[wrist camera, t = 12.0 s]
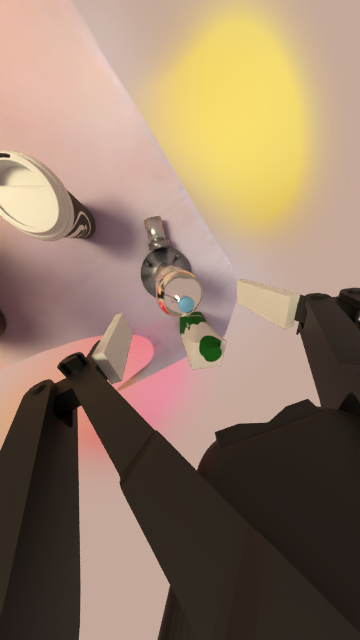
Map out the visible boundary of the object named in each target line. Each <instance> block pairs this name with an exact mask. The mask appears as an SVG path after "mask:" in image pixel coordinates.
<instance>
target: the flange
mask: <svg viewBox="0 0 360 640" xmlns="http://www.w3.org/2000/svg"><path fill="white" fill-rule="evenodd" d="M144 224H145V227H146V231H147V234H148V238H149V241H150V243H149V244H148V247H149V250H150V251H151V250H154V251H152V252H151V253H150V254H149V255H148V256H147V257H146V258H145V260H144V262H143V264H142V268H141V278H142V282H143V285H144V287H145V288H146V290H147V291H148V292H149V293H150V294H151V295H153V296H154V297H156V288H155V271H156V269H157V268H158V267H159V266H160V265H161V264H164V263H170V264H173V265H175V266H177V267H179V268H181V269H183V270H185V271H188V272H190V273H191V269H190V265H189V263H188V261H187V259H186V258H185V257H184V256H183V254H181V253H180V252H179V251H177V250H175V249H172V248H163V247H167V246H170V243H169V239H166V238H165V234H164V229H163V225H162V221H161V217H160V216H155V217H151V218H148V219H146V220H144ZM155 249H156V250H155Z"/></svg>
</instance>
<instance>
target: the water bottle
mask: <svg viewBox="0 0 360 640" xmlns="http://www.w3.org/2000/svg"><path fill="white" fill-rule="evenodd" d="M155 288H156V300H157V303H158V305H159V307H160V308H161V309H162V311H163V312H165V313H166V314H168V315H170V316H173V317H184V316H187V315H190V314H191V313H193V312H194V311H195V310H196V309H197V308H198V307H199V305H200V303H201V300H202V295H203V291H202V286H201V283H200V281H199V280H198V279H197V277H196V276H195V275H193V274H192V273H190V272H188V271H185V270H183V269H181V268H179V267H177V266H175V265H173V264H170V263H164V264H161V265H160V266H159V267H158V268H157V269H156V271H155Z"/></svg>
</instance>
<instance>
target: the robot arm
mask: <svg viewBox="0 0 360 640" xmlns="http://www.w3.org/2000/svg"><path fill="white" fill-rule="evenodd" d="M237 303H239V304H240V305H242V306H244V307H245V308H247V309H249V310H251V311H253V312H255V313H256V314H258V315H260V316H262V317H263V318H265V319H267V320H269V321H271V322H272V323H274V324H276V325H277V326H279V327H281V328H283V329H288V328H291V327H293V325H294V320H296V321H299V325H298V329H297V335H298V333H300V334H301V338H302V341H303V345H304V348H305V351H306V355H307V358H308V362H309V365H310V368H311V372H312V375H313V379H314V382H315V386H316V389H317V392H318V395H319V399H320V403H321V407H316V406H315V405H314V404H313V403H312V402H311V401H310V400H308V399H306V400H303V401H300V402H298V403H295V404H292V405H289V406H287V407H285V408H284V409H283V410H282V411H281V412H279V413H278V414H277V415H276V416H275V417H274V418H273V419H272V420H271V421H270V422H267V423H249V424H237V425H234V426H231V427H228V428H225V429H223V430H220V431H217V432H215V435H216V441H215V442H214V443H213V444H212V445H211V446H210V447H209V448H208V449H207V451H206V452H205V454H204V455H203V457H202V459H201V461H200V463H199V466H198V469H197V470H195V468H194V467H193V466H191V464H190V463H189V462H188V461H187V460H186V459H185V458H184V457H183V456H181V454H180V453H179V452H178V451H177V450H176V449H175V448H174V447H173V446H172V445H171V444H170V443H169V442H168V441H167V440H166V439H165V438H164V437H163V436H162V435H161V434H160V433H159V432H158V431H155V430H154V429H153V428H152V427H151V426H150V425H149V424H148V423H147V422H146V421H145V420H144V419H143V418H142V417H141V416H140V415H139V414H138V413H137V412H136V410H134V408H133V407H132V406H131V405H130V404H129V403H128V402H127V401H126V400H125V399H124V398H123V397H122V396H121V395H120V394H119V393H118V392H117V391H116V390H115V389H114V388H113V387H112V385H111V384H113V383H117V382H120V381H122V378H123V373H124V369H125V364H126V361H127V356H128V352H129V348H130V343H131V339H132V335H133V333H132V331H131V328H130V326H129V324H128V322H127V320H126V318H125V316H124V314H123V313H120V314H116V315H115V317H114V319H113V320H112V322H111V324H110V325H109V327H108V329H107V330H106V332H105V334H104V336H103V338H102V339H101V340H99V341H98V342H97V343H96V344H95V345H94V346H93V347H92V350H91V351H90V353H89V354H88V355H87V357H86V358H85V356H84V355H83V354H82V353H81V352H78V353H74V354H72V355H70V356H68V357H66V358H65V359H63V360H62V361H61V362H60V363H59V365H58V367H57V368H58V369H59V370H60V371H61V372H62V373H63V374H64V375H65V376H66V378H65V379H63V380H61V381H60V382H57V383H54V382H53V381H52V380H49V379H48V380H44V381H42V382H40V383H38V384H36V385H34V386H33V387H32V388H30V389H29V391H28V392H27V393H26V394H25V395H24V396H23V398H22V401H21V403H20V405H19V408H18V410H17V412H16V415H15V417H14V420H13V422H12V424H11V427H10V429H9V431H8V434H7V436H6V439H5V441H4V443H3V446H2V448H1V450H0V640H79V628H80V533H79V480H78V420H77V407H79V406H81V405H82V407H83V409H84V411H85V413H86V414H87V416H88V418H89V420H90V422H91V424H92V425H93V427H94V429H95V431H96V433H97V435H98V437H99V438H100V440H101V442H102V444H103V446H104V448H105V449H106V451H107V453H108V455H109V457H110V459H111V460H112V462H113V464H114V466H115V468H116V469H117V472H118V473H119V476H120V486H121V489H122V491H123V494H124V496H125V498H126V500H127V502H128V503H129V506H130V507H131V510H132V511H133V513H134V515H135V517H136V519H137V521H138V523H139V525H140V527H141V529H142V531H143V533H144V535H145V537H146V538H147V541H148V543H149V544H150V546H151V548H152V550H153V552H154V554H155V556H156V558H157V560H158V562H159V564H160V566H161V568H162V570H163V572H164V574H165V576H166V578H167V580H168V582H169V584H170V588H169V593H168V597H167V601H166V605H165V610H164V614H163V618H162V623H161V627H160V632H159V636H158V640H360V321H359V320H358V319H359V317H360V288H349V289H342V290H341V291H340V293H339V296H338V297H331V296H329V295H327V294H321V293H313V294H307V295H306V296H303V295H300V294H297V293H294V292H290V291H287V290H282V289H279V288H275V287H271V286H267V285H264V284H260V283H256V282H253V281H249V280H245V279H241V280H237ZM5 327H6V322H5V318H4V316H3V314H2V313H1V311H0V335H1V334H2V333H3V332H4V330H5ZM107 379H108V380H109V382H110V383H111V384H110V383H109V382H108V381H107Z"/></svg>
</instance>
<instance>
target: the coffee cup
mask: <svg viewBox="0 0 360 640" xmlns="http://www.w3.org/2000/svg"><path fill="white" fill-rule="evenodd" d="M0 216H2V217H3V218H4V219H5V220H6V221H8V222H9V223H10V224H11V225H12V226H14V227H15V228H17V229H18V230H19V231H21V232H23V233H25V234H27V235H29V236H31V237H33V238H36V239H39V240H43V241H56V240H59V239H62V238H89V237H91V236H92V235H93V234H94V232H95V221H94V218H93V216H92V214H91V213H90V212H89V211H88V210H87V209H86V208H85V207H84V206H83V205H82V204H81V203H80V202H79V201H78V200H77V199H76V198H75V197H74V196H73V195H72V194H71V193H69V192H68V191H67V190H66V188H65V186H64V185H63V183H62V182H61V181H60V179H59V178H58V177H57V176H56V175H55V174H54V173H53V172H52V171H51V170H50V169H49V168H48V167H47V166H46V165H44V164H43V163H41V162H40V161H38V160H37V159H35V158H33V157H31V156H28V155H26V154H23V153H19V152H15V151H0Z"/></svg>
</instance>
